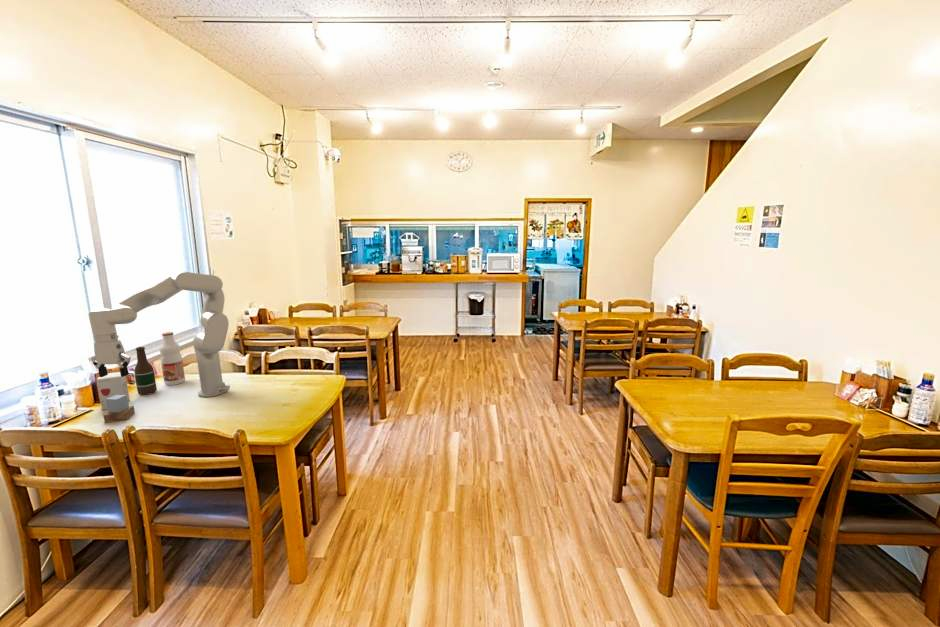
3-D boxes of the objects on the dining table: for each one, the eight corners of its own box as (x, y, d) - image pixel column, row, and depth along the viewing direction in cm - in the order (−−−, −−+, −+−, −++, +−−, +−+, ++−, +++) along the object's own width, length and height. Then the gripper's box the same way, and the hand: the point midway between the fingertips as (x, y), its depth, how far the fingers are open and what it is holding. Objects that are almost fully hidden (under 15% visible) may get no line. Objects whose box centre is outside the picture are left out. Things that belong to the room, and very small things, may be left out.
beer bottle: (160, 390, 218) (153, 345, 214) (148, 395, 210) (140, 349, 206) (147, 389, 219) (139, 345, 214) (134, 395, 211) (126, 349, 207)
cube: (129, 407, 186) (126, 395, 185) (118, 412, 181) (116, 399, 180) (118, 407, 187) (116, 394, 185) (108, 412, 182) (105, 399, 181)
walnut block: (135, 413, 189) (133, 405, 189) (127, 420, 182) (125, 412, 181) (113, 416, 187) (112, 408, 186) (104, 423, 179) (103, 415, 179)
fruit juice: (188, 381, 230) (180, 332, 225) (167, 386, 223) (159, 335, 218) (182, 378, 236) (174, 330, 231) (162, 383, 228) (154, 333, 223)
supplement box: (101, 410, 193) (95, 379, 190) (106, 403, 201) (101, 373, 198) (125, 406, 197) (120, 376, 194) (130, 400, 205) (125, 370, 202)
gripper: (132, 335, 181) (140, 372, 184) (95, 336, 182) (103, 373, 186) (117, 339, 174) (125, 378, 177) (78, 340, 175) (87, 379, 178)
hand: (114, 375), depth 181 cm, fingers open, 9 cm apart
